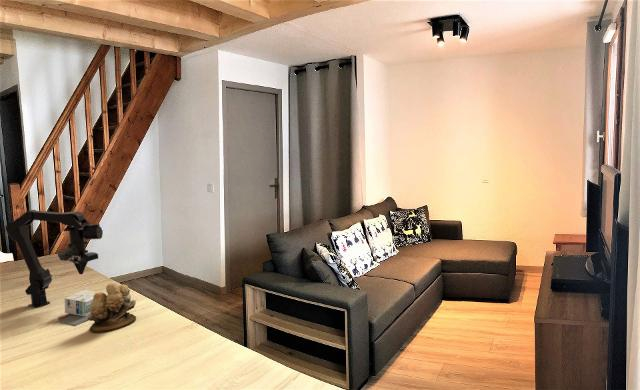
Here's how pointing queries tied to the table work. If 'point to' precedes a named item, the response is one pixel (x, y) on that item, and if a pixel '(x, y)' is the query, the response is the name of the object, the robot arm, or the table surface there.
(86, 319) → the rubber mat
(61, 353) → the table surface
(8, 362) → the table surface
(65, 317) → the walnut kerb
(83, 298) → the light bulb box
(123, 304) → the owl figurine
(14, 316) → the table surface
